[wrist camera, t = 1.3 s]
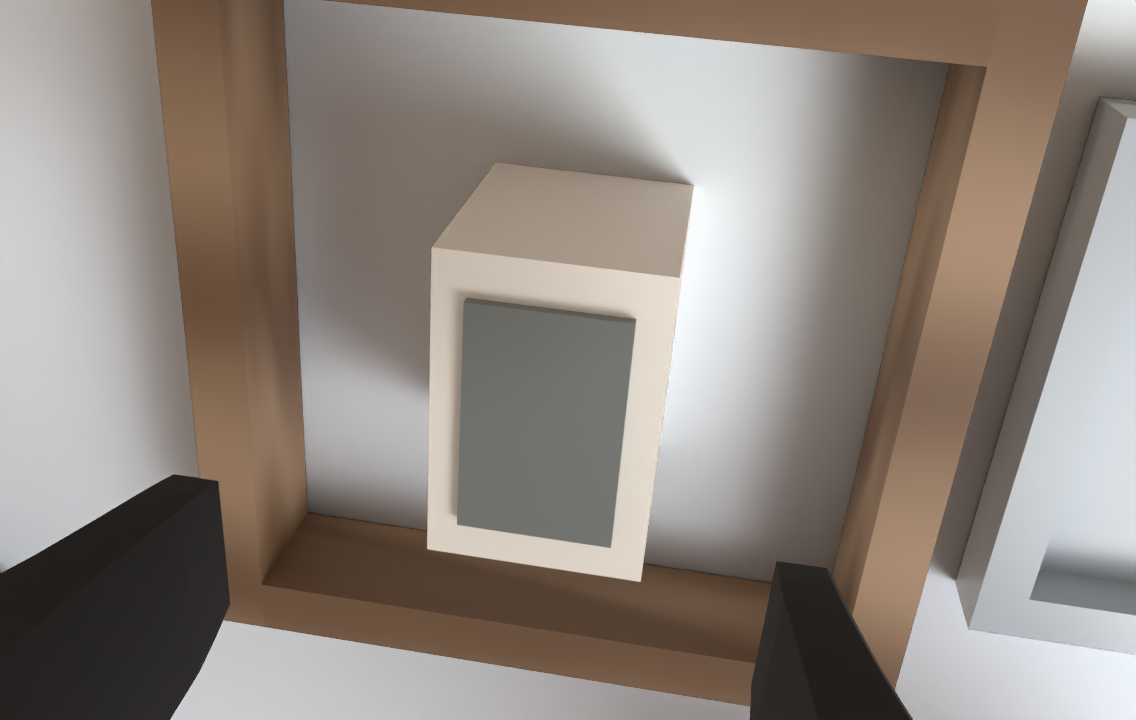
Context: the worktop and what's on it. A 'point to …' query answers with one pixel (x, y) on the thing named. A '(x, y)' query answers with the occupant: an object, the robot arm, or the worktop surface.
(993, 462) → the tray
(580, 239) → the block
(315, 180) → the worktop surface
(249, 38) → the open case
